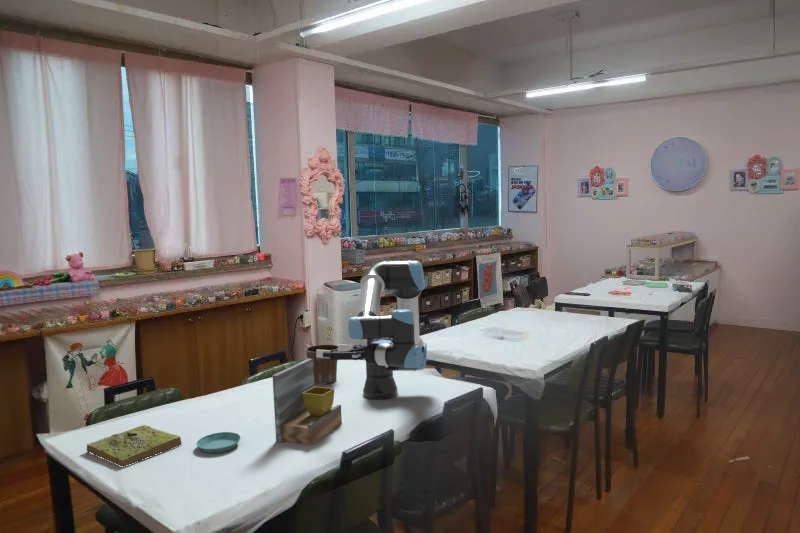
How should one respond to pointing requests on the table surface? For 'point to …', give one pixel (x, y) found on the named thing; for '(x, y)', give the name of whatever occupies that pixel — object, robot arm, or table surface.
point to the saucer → (218, 442)
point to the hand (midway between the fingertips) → (327, 350)
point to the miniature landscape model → (133, 445)
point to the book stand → (299, 407)
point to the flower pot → (318, 400)
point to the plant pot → (323, 364)
